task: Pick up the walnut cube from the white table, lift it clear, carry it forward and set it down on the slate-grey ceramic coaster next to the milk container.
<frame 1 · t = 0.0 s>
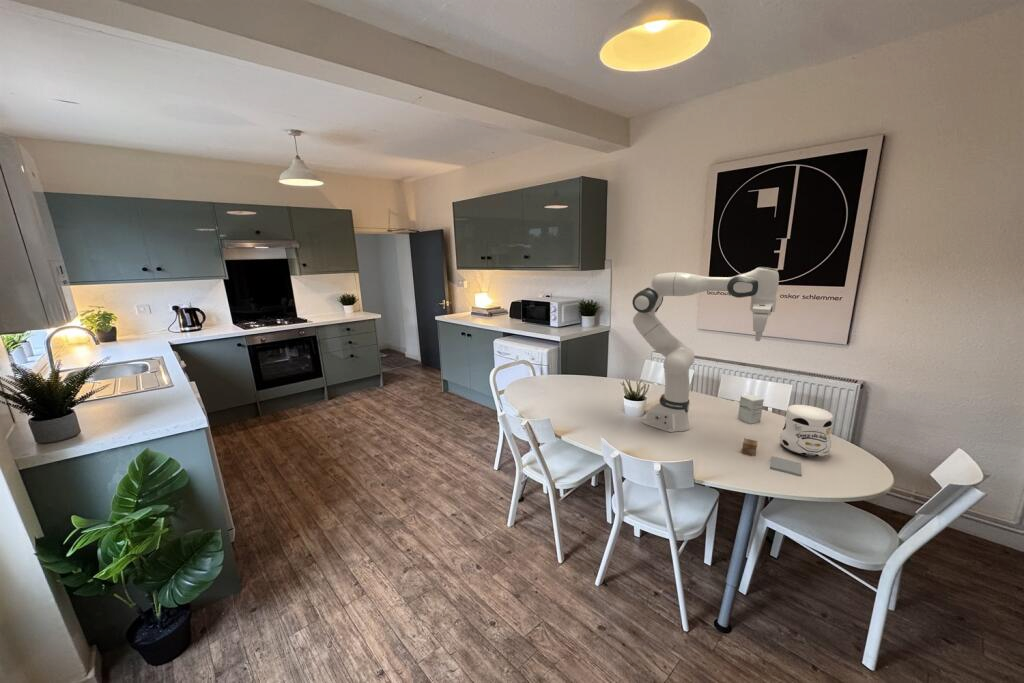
hand: (758, 338, 163), 48 cm above the table, fingers open, 8 cm apart
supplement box: (748, 420, 196), on the table
walnut cube: (748, 452, 165), on the table
milk container: (803, 450, 166), on the table
coaster: (785, 466, 153), on the table
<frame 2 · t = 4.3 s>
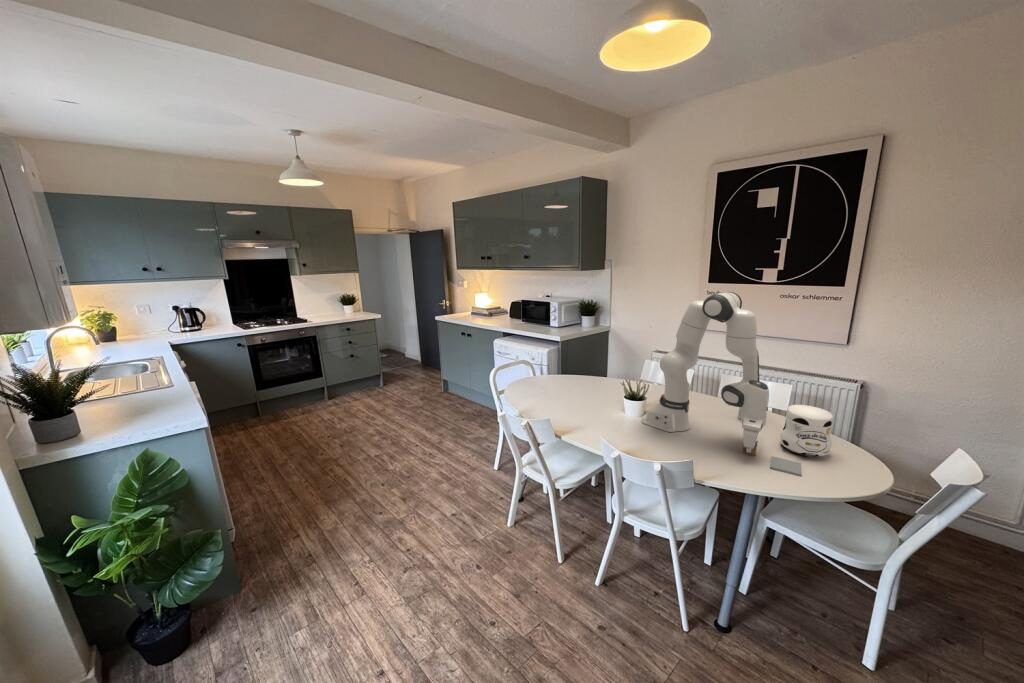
hand: (749, 448, 164), 2 cm above the table, fingers closed on walnut cube, 5 cm apart
walnut cube: (748, 452, 165), on the table, touching gripper
everything else where it was.
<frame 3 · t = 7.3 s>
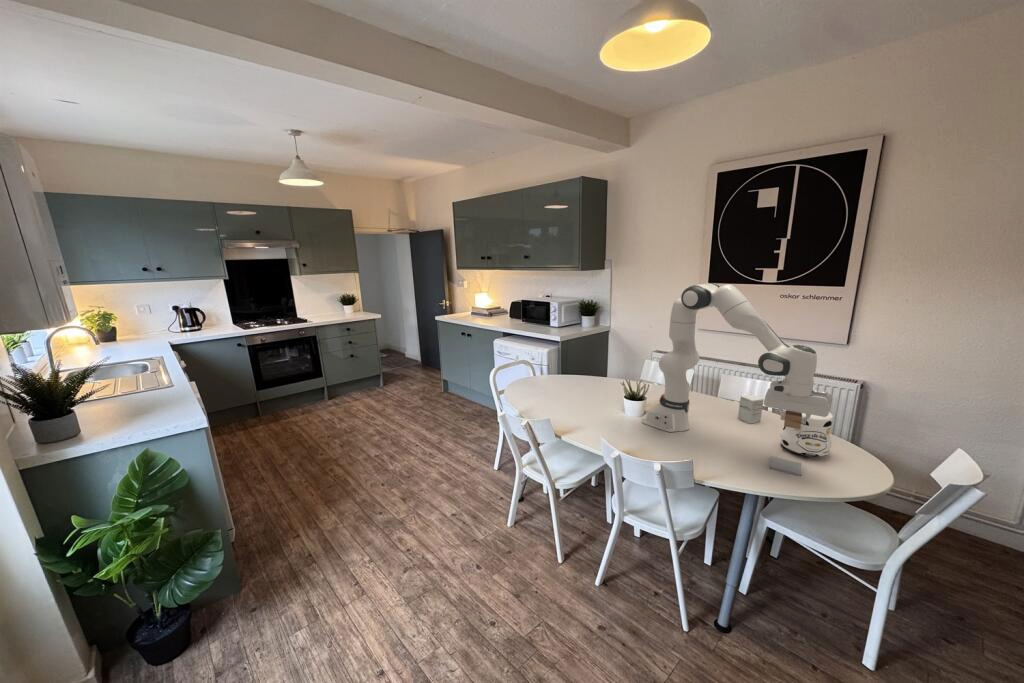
hand: (792, 421, 149), 19 cm above the table, fingers closed on walnut cube, 5 cm apart
walnut cube: (792, 425, 149), point 18 cm above the table, touching gripper
everything else where it was.
when the fingers open (4 cm above the table, at t = 10.8 s): walnut cube drops 1 cm, resting on coaster.
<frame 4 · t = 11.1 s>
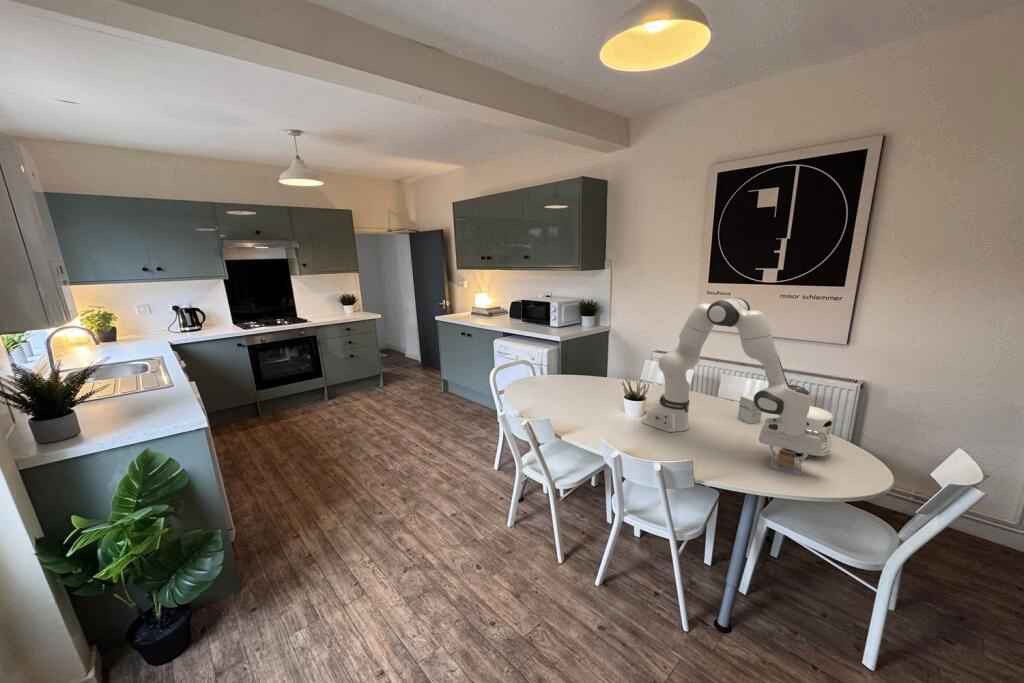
hand: (786, 458, 152), 4 cm above the table, fingers open, 7 cm apart
walnut cube: (785, 464, 153), point 1 cm above the table, touching coaster
everything else where it was.
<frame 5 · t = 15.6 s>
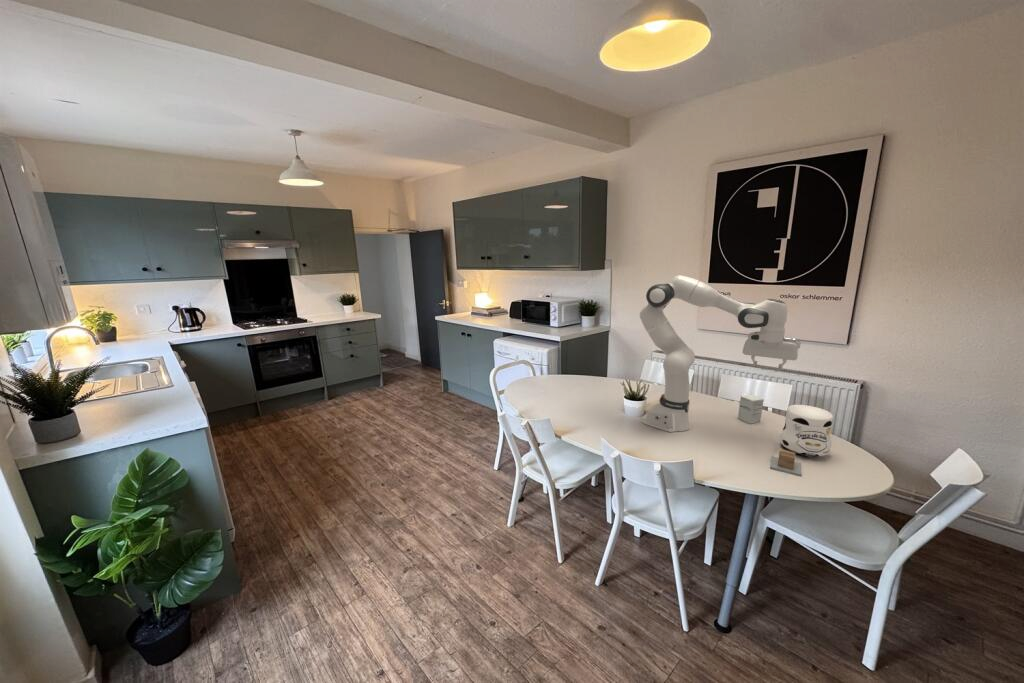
hand: (767, 366, 170), 34 cm above the table, fingers open, 8 cm apart
nothing on the table moved.
at the end: walnut cube inside the target area on the coaster (0.1 cm from its centre), point 0.8 cm above the coaster's base; walnut cube tilted 0°; the gripper is holding nothing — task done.
